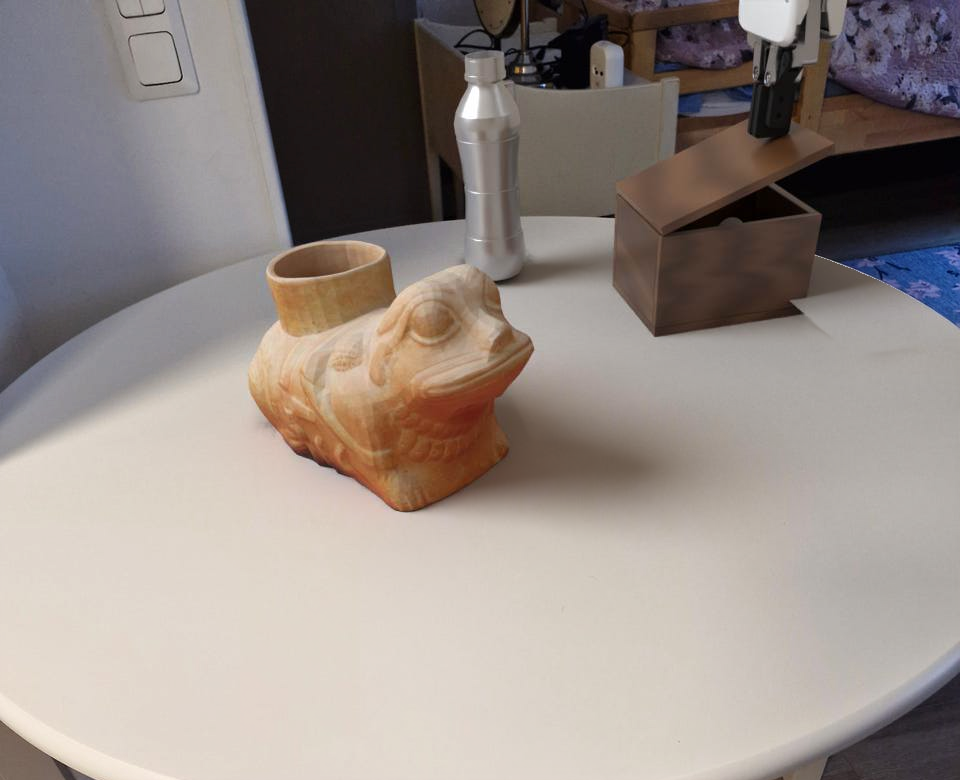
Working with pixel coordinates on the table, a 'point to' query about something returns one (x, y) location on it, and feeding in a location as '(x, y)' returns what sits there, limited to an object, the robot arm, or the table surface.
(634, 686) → the table surface
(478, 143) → the silver bottle
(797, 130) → the lid
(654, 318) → the chest
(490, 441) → the ceramic vessel
